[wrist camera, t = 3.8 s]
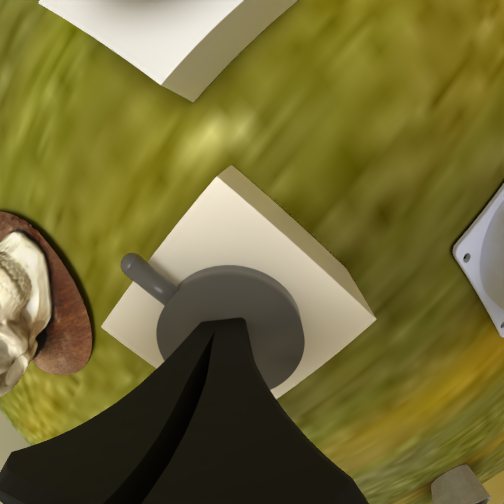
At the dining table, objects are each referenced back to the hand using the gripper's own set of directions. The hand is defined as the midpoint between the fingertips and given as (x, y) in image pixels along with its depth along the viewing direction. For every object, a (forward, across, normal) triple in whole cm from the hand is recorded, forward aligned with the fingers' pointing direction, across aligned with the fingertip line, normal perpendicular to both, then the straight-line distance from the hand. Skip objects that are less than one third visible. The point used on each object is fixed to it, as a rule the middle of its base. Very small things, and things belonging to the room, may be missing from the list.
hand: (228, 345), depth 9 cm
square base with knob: (+5, 0, -13) cm, 14 cm away
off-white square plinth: (+5, 0, 0) cm, 5 cm away
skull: (+6, +14, 0) cm, 16 cm away
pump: (+4, +1, -1) cm, 5 cm away
